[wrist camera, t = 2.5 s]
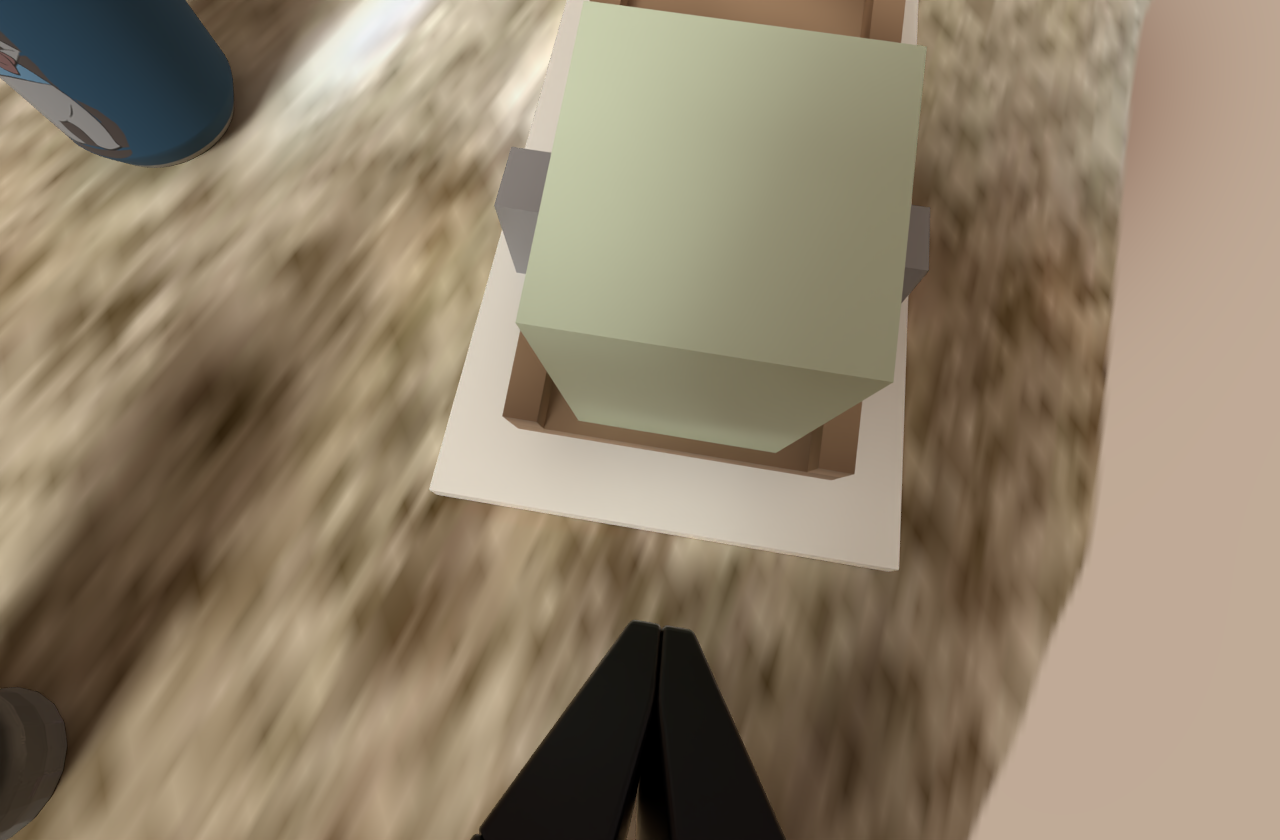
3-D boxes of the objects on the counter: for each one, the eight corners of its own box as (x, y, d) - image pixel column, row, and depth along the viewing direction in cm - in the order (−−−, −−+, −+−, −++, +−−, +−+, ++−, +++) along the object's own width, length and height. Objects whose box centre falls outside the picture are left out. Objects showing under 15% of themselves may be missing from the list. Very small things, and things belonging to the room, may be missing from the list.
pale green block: (775, 453, 18) (893, 382, 10) (578, 420, 19) (515, 322, 10) (800, 266, 19) (926, 46, 11) (613, 238, 20) (583, 0, 11)
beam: (825, 481, 20) (878, 467, 15) (521, 431, 20) (485, 403, 16) (896, -130, 24) (954, -284, 19) (642, -161, 24) (641, -319, 20)
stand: (889, 571, 21) (959, 557, 17) (436, 494, 22) (384, 460, 17) (912, -13, 30) (962, -127, 25) (588, -55, 31) (580, -174, 26)
